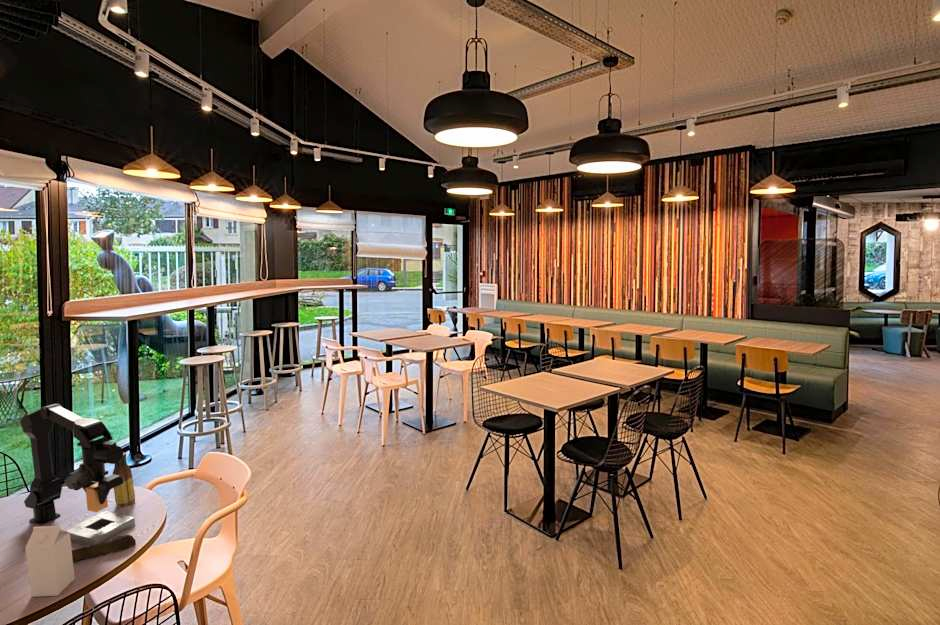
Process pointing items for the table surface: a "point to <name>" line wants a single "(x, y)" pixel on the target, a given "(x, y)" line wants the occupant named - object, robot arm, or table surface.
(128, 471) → the sauce bottle
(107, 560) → the table surface
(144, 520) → the table surface
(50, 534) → the milk carton
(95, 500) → the orange rectangular block
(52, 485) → the robot arm
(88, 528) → the grey square hole board
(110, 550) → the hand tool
